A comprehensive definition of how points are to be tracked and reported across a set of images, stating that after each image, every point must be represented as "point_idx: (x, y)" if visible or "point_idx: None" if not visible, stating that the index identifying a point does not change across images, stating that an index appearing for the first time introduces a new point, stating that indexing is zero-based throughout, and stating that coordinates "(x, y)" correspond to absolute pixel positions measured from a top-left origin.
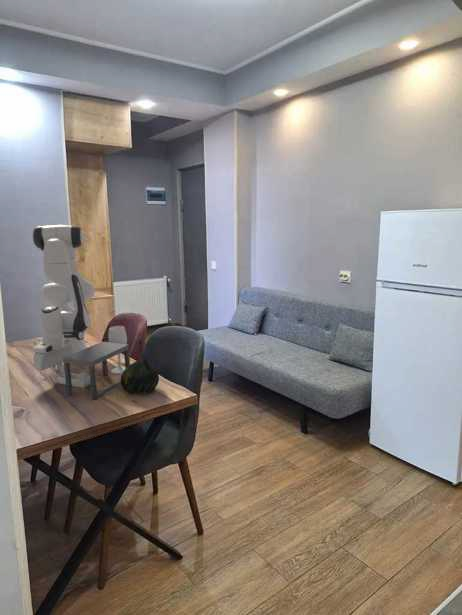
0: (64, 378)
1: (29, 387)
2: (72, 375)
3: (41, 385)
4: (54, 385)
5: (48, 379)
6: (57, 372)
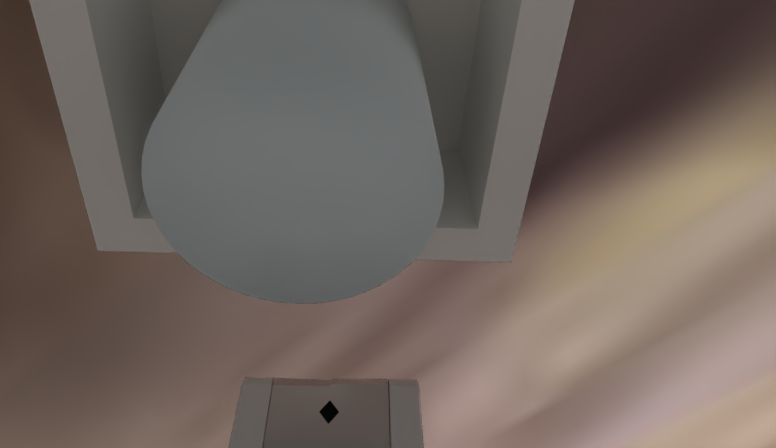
0: (569, 2)
1: (710, 430)
2: (118, 18)
3: (620, 352)
4: (601, 159)
5: None
6: (355, 408)
